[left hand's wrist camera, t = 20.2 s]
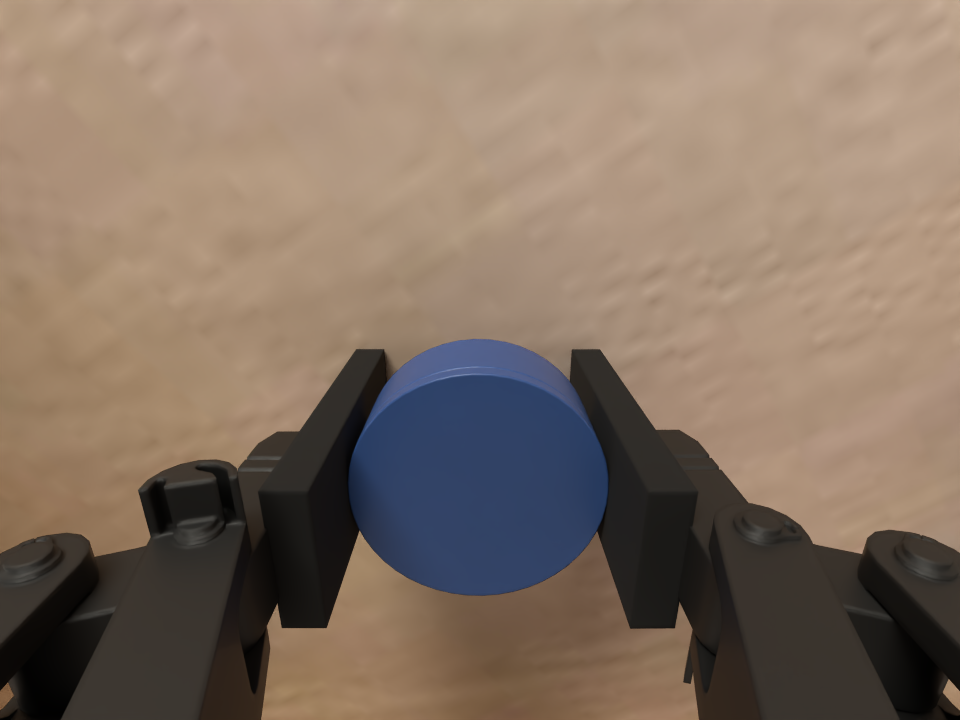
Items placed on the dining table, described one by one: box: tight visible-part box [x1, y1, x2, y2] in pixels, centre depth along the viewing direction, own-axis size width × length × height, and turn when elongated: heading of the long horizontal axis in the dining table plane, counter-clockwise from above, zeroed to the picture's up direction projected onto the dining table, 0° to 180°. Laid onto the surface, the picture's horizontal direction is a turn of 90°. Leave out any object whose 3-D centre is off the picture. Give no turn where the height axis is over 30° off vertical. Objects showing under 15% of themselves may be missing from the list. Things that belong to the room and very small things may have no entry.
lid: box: [348, 339, 609, 596], centre depth 11 cm, size 5×5×2 cm
